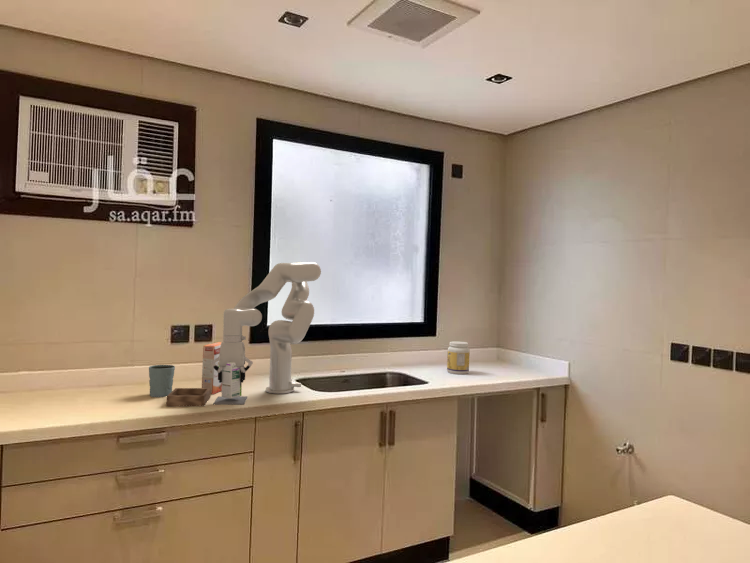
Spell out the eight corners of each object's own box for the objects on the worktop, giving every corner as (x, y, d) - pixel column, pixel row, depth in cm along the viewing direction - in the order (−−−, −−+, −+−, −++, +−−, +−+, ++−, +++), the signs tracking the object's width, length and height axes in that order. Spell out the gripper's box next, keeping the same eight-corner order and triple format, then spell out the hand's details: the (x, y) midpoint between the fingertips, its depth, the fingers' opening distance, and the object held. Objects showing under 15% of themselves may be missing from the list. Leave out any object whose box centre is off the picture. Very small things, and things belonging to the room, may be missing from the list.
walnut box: (210, 397, 216) (210, 388, 216) (203, 406, 202) (204, 396, 202) (175, 397, 214) (175, 388, 214) (166, 406, 200) (166, 396, 200)
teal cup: (142, 396, 216) (143, 367, 215) (160, 391, 225) (161, 363, 225) (162, 398, 212) (162, 369, 212) (179, 393, 222) (180, 365, 221)
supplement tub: (444, 370, 295) (445, 340, 295) (465, 370, 297) (466, 341, 296) (449, 374, 283) (450, 343, 283) (471, 374, 284) (472, 344, 284)
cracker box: (213, 395, 221) (214, 346, 221) (200, 394, 222) (202, 345, 222) (229, 388, 235) (230, 342, 234) (217, 387, 236) (218, 341, 236)
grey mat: (247, 397, 219) (247, 396, 219) (244, 404, 207) (244, 403, 207) (218, 397, 217) (218, 396, 217) (213, 404, 205) (213, 403, 205)
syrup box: (231, 398, 208) (231, 362, 208) (220, 396, 211) (221, 361, 211) (241, 396, 213) (242, 360, 213) (231, 394, 216) (232, 359, 216)
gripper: (255, 338, 216) (254, 379, 217) (212, 337, 214) (211, 380, 214) (253, 340, 209) (252, 383, 209) (208, 340, 207) (207, 383, 207)
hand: (231, 381), depth 212 cm, fingers closed on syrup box, 8 cm apart
